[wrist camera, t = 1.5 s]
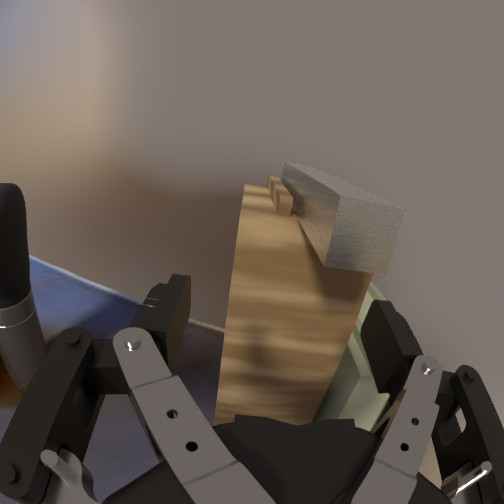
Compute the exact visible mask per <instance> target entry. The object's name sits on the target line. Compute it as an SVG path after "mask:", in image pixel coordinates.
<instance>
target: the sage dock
mask: <svg viewBox="0 0 504 504" xmlns="http://www.w3.org/2000/svg"><path fill="white" fill-rule="evenodd" d="M375 299H377V300H386V299H385V297H384V296H383V295H382V294H381V292H380V291H379V289H378V288H377V287H376V286H375V284H374V283H370V284H369V287H368V290H367V293H366V295H365V298H364V301H363V304H362V307H361V310H360V312H359V315H358V318H357V320H356V323H355V326H354V328H353V331H352V334H351V336H350V339H349V341H348V344H347V346H346V348H345V351H344V353H343V356H342V358H341V360H340V363H339V365H338V367H337V370H336V372H335V374H334V376H333V379H332V381H331V383H330V385H329V387H328V389H327V392H326V394H325V396H324V398H323V400H322V402H321V404H320V406H319V408H318V410H317V412H316V414H315V416H314V418H313V420H312V422H311V423H313V422H317V421H322V420H326V419H354V422H355V427H359V428H362V429H365V430H367V431H370V430H371V429H372V427H373V425H374V423H375V421H376V419H377V418H378V416H379V414H380V412H381V410H382V408H383V406H384V404H385V402H386V400H387V399H388V398H389V393H382V394H378V391H377V387H376V384H375V381H374V378H373V374H372V371H371V368H370V365H369V362H368V359H367V356H366V353H365V350H364V347H363V344H362V341H361V337H360V331H361V326H362V324H363V322H364V319H365V317H366V315H367V312H368V310H369V308H370V305H371V303H372V301H373V300H375ZM420 348H421V347H420ZM421 350H422V349H421ZM422 352H423V350H422ZM423 354H424V355H425V353H424V352H423Z"/></svg>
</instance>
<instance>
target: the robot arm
mask: <svg viewBox="0 0 504 504" xmlns="http://www.w3.org/2000/svg"><path fill="white" fill-rule="evenodd" d="M190 302H191V277H190V276H186V275H180V274H173V275H172V276H171V278H170V280H169V282H168V284H162V283H159V284H158V285H156V286H155V287H153V288H152V289H151V290H150V292H149V294H148V295H147V298H146V299H145V301H144V302H143V305H142V306H141V308H140V309H139V311H138V313H137V315H136V317H135V319H134V320H133V322H132V324H131V326H130V328H126V329H123V330H121V331H119V332H118V333H117V334H116V335H115V336H114V338H113V339H91V336H90V334H89V333H88V331H86V330H85V329H82V328H77V327H74V328H69V329H66V330H64V331H63V332H61V333H60V334H59V335H58V337H57V338H56V340H55V341H54V343H53V344H52V346H51V348H50V349H49V351H48V349H47V346H46V343H45V340H44V336H43V333H42V330H41V326H40V322H39V319H38V315H37V311H36V307H35V303H34V299H33V294H32V289H31V284H30V263H29V253H28V244H27V222H26V208H25V201H24V197H23V194H22V191H21V190H20V188H19V187H18V186H17V185H15V184H12V183H0V354H1V356H2V358H3V361H4V363H5V365H6V368H7V370H8V372H9V374H10V376H11V378H12V380H13V382H14V384H15V386H16V387H17V388H18V389H19V390H21V391H23V392H25V393H24V395H23V397H22V399H21V401H20V403H19V405H18V407H17V409H16V411H15V413H14V415H13V417H12V419H11V421H10V423H9V425H8V428H7V430H6V432H5V434H4V437H3V439H2V441H1V444H0V492H1V493H2V494H4V495H5V496H7V497H9V498H10V499H12V500H14V501H15V502H16V503H18V504H100V503H99V502H98V501H97V499H96V498H95V495H94V492H93V483H94V482H93V477H92V474H91V473H90V471H89V470H88V469H87V468H86V467H85V466H84V464H83V461H84V457H85V454H86V451H87V448H88V444H89V441H90V438H91V435H92V432H93V429H94V426H95V423H96V420H97V417H98V415H99V412H100V409H101V406H102V403H103V401H104V398H105V395H106V394H128V397H129V399H130V401H131V404H132V406H133V408H134V410H135V413H136V415H137V417H138V419H139V421H140V423H141V426H142V428H143V430H144V432H145V434H146V436H147V439H148V441H149V443H150V445H151V447H152V449H153V451H154V453H155V455H156V457H157V459H158V460H159V462H160V463H159V464H157V465H156V466H154V467H153V468H152V469H150V470H149V471H147V472H146V473H144V474H143V475H141V476H140V477H138V478H137V479H135V480H134V481H132V482H130V483H129V484H127V485H126V486H124V487H123V488H121V489H119V490H118V491H116V492H114V493H113V494H111V495H110V496H108V497H107V498H106V499H105V500H104V501H103V502H102V503H101V504H504V429H503V426H502V424H501V421H500V419H499V416H498V414H497V412H496V410H495V407H494V405H493V403H492V401H491V398H490V396H489V394H488V392H487V390H486V387H485V385H484V384H483V382H482V379H481V377H480V375H479V374H478V372H477V371H476V370H475V369H474V368H472V367H470V366H468V365H462V366H460V367H459V368H458V369H457V370H456V372H455V373H452V372H447V371H443V370H442V367H441V365H440V364H439V363H438V361H437V360H435V359H434V358H432V357H430V356H427V355H424V354H423V352H422V350H421V348H420V346H419V344H418V342H417V340H416V338H415V336H414V335H413V332H412V330H411V329H410V327H409V325H408V323H407V321H406V319H405V318H403V316H402V315H400V314H399V313H398V312H396V310H395V308H394V307H393V305H392V303H391V302H390V301H387V300H377V299H375V300H373V301H372V303H371V305H370V308H369V310H368V312H367V315H366V317H365V319H364V322H363V324H362V326H361V331H360V337H361V341H362V344H363V347H364V350H365V353H366V356H367V359H368V362H369V365H370V368H371V371H372V374H373V378H374V381H375V384H376V387H377V391H378V394H382V393H389V398H388V399H387V400H386V402H385V404H384V406H383V408H382V410H381V412H380V414H379V416H378V418H377V419H376V421H375V423H374V425H373V427H372V429H371V430H370V431H367V430H365V429H362V428H359V427H355V422H354V419H326V420H322V421H317V422H313V423H308V424H303V425H294V424H290V423H286V422H282V421H278V420H275V419H271V418H268V417H260V416H249V415H240V414H235V418H234V422H229V423H223V424H219V425H216V426H213V427H211V426H210V424H209V423H208V421H207V420H206V418H205V417H204V415H203V414H202V412H201V411H200V409H199V408H198V406H197V405H196V403H195V402H194V400H193V398H192V397H191V395H190V394H189V392H188V391H187V389H186V387H185V386H184V384H183V382H182V381H181V379H180V378H179V377H178V375H176V374H175V375H172V374H171V371H172V368H173V365H174V362H175V358H176V355H177V352H178V349H179V346H180V343H181V340H182V337H183V334H184V331H185V328H186V325H187V322H188V319H189V314H190V305H191V303H190ZM460 408H461V409H462V411H463V414H464V417H465V420H466V427H465V430H464V431H463V432H462V433H461V430H460V427H459V424H458V421H457V418H456V415H455V414H456V413H457V411H458V410H459V409H460ZM430 437H432V441H433V445H434V448H435V453H436V457H437V461H438V465H439V469H440V474H441V479H442V485H441V490H440V489H439V488H437V487H436V486H435V485H434V484H433V483H431V482H430V481H429V480H428V479H427V478H425V477H424V476H423V475H422V474H421V473H419V472H418V469H419V467H420V464H421V462H422V459H423V456H424V454H425V451H426V448H427V446H428V443H429V440H430Z"/></svg>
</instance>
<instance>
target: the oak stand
mask: <svg viewBox="0 0 504 504" xmlns="http://www.w3.org/2000/svg"><path fill="white" fill-rule="evenodd" d="M292 203H293V197H292V196H291V194H290V193H289V192H288V190H287V189H286V188H285V186H284V185H283V184H282V182H281V181H280V180H279V178H278V177H277V176H273V175H269V178H268V184H267V186H261V185H254V184H247V183H245V189H244V195H243V201H242V208H241V214H240V221H239V228H238V236H237V244H236V250H235V258H234V265H233V273H232V280H231V287H230V295H229V303H228V311H227V319H226V326H225V334H224V343H223V351H222V359H221V367H220V376H219V385H218V393H217V402H216V411H215V420H214V426H216V425H219V424H223V423H229V422H234V418H235V414H240V415H249V416H260V417H268V418H271V419H275V420H278V421H282V422H286V423H290V424H294V425H303V424H308V423H311V422H312V420H313V418H314V416H315V414H316V412H317V410H318V408H319V406H320V404H321V402H322V400H323V398H324V396H325V394H326V392H327V389H328V387H329V385H330V383H331V381H332V379H333V376H334V374H335V372H336V370H337V367H338V365H339V363H340V360H341V358H342V356H343V353H344V351H345V348H346V346H347V344H348V341H349V339H350V336H351V334H352V331H353V328H354V326H355V323H356V320H357V318H358V315H359V312H360V310H361V307H362V304H363V301H364V298H365V295H366V293H367V290H368V287H369V284H370V281H371V277H372V274H373V273H370V272H362V271H355V270H347V269H340V268H332V267H325V266H324V265H323V264H322V262H321V260H320V258H319V256H318V254H317V253H316V251H315V249H314V247H313V245H312V244H311V242H310V240H309V238H308V237H307V235H306V233H305V231H304V229H303V228H302V226H301V224H300V222H299V221H298V219H297V217H296V216H295V214H294V212H293V210H292Z"/></svg>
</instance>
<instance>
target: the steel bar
mask: <svg viewBox="0 0 504 504" xmlns="http://www.w3.org/2000/svg"><path fill="white" fill-rule="evenodd" d="M281 182H282V184H283V185H284V186H285V188H286V189H287V190H288V192H289V193H290V194H291V196H292V197H293V203H292V210H293V212H294V214H295V216H296V217H297V219H298V221H299V222H300V224H301V226H302V228H303V229H304V231H305V233H306V235H307V237H308V238H309V240H310V242H311V244H312V245H313V247H314V249H315V251H316V253H317V254H318V256H319V258H320V260H321V262H322V264H323V265H324V266H325V267H332V268H340V269H347V270H355V271H362V272H370V273H377V274H385V275H386V272H387V270H388V266H389V263H390V260H391V257H392V253H393V250H394V247H395V244H396V240H397V237H398V233H399V229H400V226H401V222H402V218H403V214H404V209H402V208H400V207H398V206H396V205H395V204H393V203H391V202H389V201H387V200H384V199H382V198H381V197H379V196H377V195H374V194H372V193H370V192H368V191H366V190H364V189H362V188H360V187H357V186H355V185H353V184H351V183H349V182H347V181H344V180H342V179H340V178H338V177H335V176H333V175H331V174H328V173H326V172H324V171H321V170H319V169H317V168H314V167H312V166H307V165H302V164H296V163H290V162H285V161H284V165H283V171H282V177H281Z"/></svg>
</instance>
